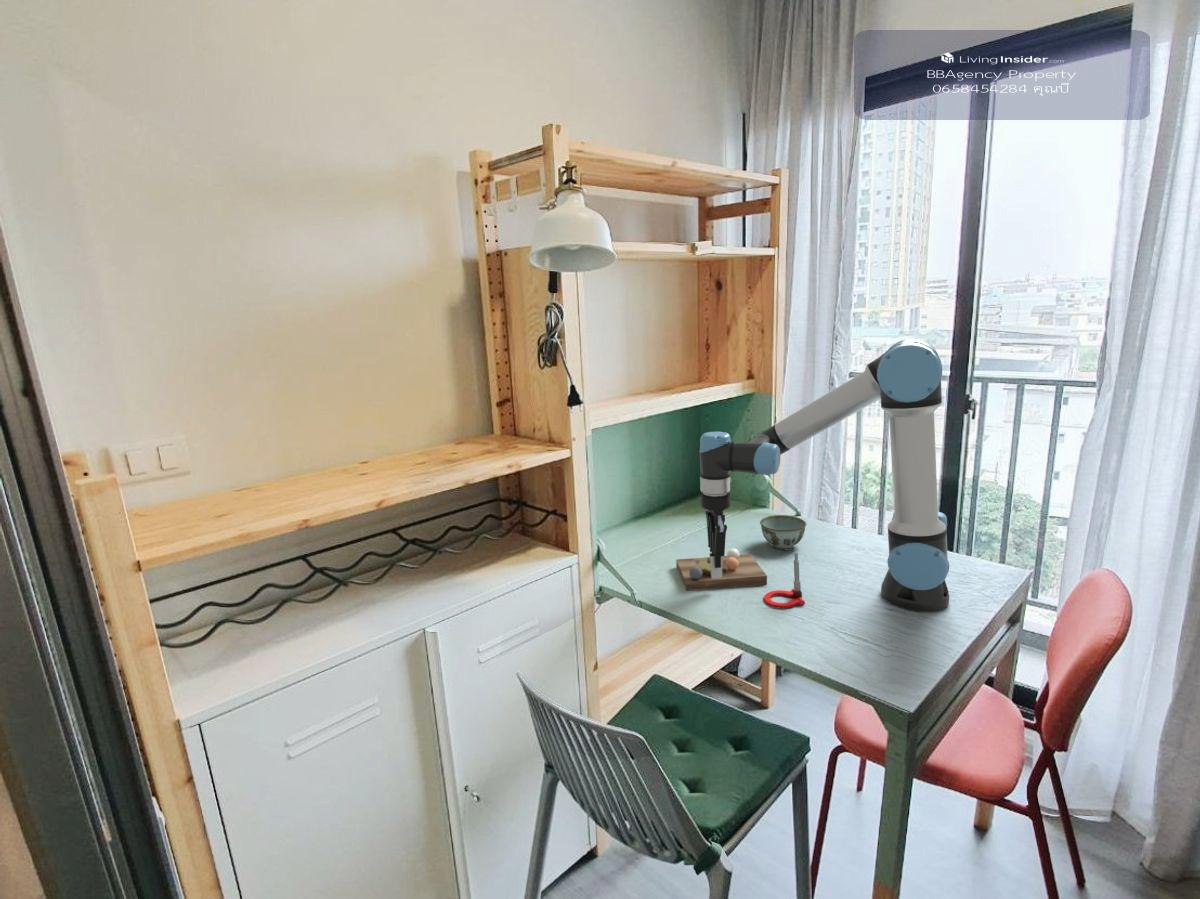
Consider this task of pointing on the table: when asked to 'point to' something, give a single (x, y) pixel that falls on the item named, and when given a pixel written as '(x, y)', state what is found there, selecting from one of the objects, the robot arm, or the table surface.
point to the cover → (706, 565)
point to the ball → (732, 563)
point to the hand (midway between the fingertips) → (716, 576)
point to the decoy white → (733, 553)
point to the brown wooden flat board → (723, 574)
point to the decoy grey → (695, 572)
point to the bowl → (783, 530)
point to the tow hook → (793, 593)
